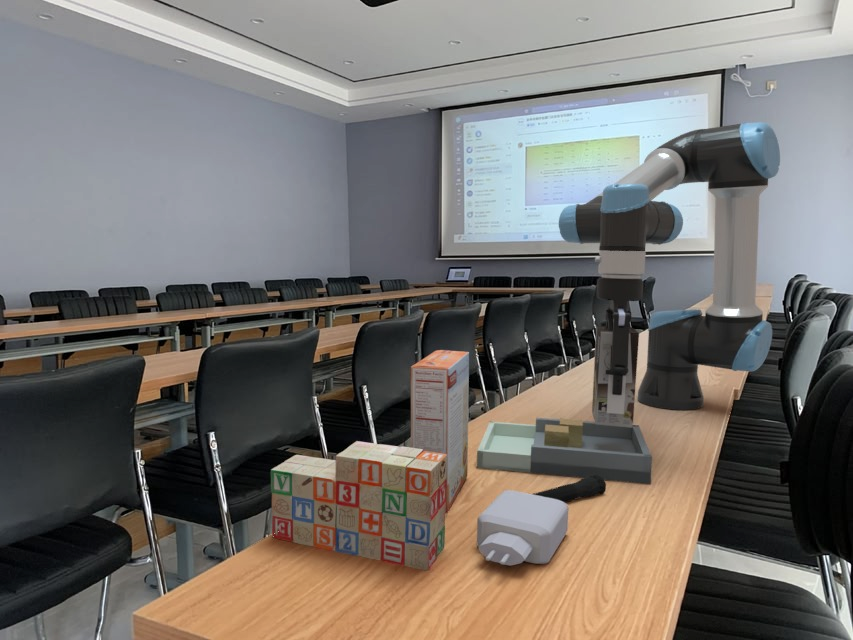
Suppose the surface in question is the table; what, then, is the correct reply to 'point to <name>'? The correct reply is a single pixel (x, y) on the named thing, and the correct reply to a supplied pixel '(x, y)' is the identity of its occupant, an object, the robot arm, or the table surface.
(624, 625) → the table surface
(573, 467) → the blue gray tray
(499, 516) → the charger
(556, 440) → the tan yellow cube
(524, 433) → the tray
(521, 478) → the table surface
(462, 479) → the cracker box
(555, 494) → the flashlight
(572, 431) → the tan wooden cube
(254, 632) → the table surface
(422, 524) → the stack of blocks
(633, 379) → the coffee box
